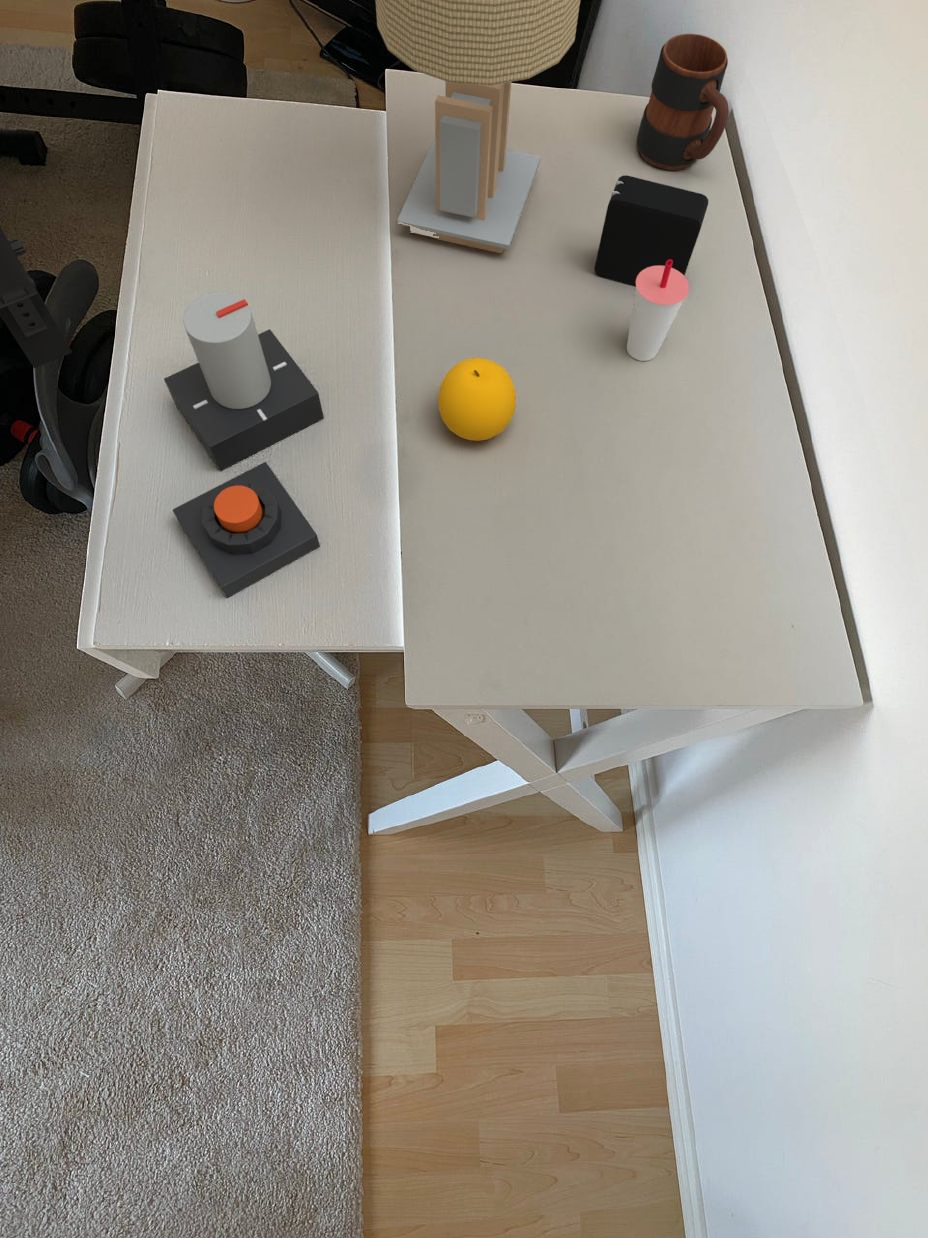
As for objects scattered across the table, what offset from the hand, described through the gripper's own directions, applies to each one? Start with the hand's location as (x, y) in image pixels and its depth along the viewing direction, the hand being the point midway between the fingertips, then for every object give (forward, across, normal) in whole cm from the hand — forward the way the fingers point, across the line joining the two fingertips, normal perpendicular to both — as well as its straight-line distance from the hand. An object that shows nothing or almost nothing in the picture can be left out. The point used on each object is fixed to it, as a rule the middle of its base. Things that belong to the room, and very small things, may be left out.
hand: (49, 353), depth 54 cm
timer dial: (+20, -8, +14) cm, 25 cm away
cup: (+23, +8, +54) cm, 59 cm away
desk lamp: (+23, -21, +51) cm, 60 cm away
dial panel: (+24, -8, +14) cm, 29 cm away
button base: (+24, +5, +7) cm, 25 cm away
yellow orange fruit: (+23, +6, +33) cm, 41 cm away
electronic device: (+23, -2, +61) cm, 65 cm away
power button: (+20, +5, +7) cm, 22 cm away
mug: (+23, -15, +78) cm, 83 cm away
